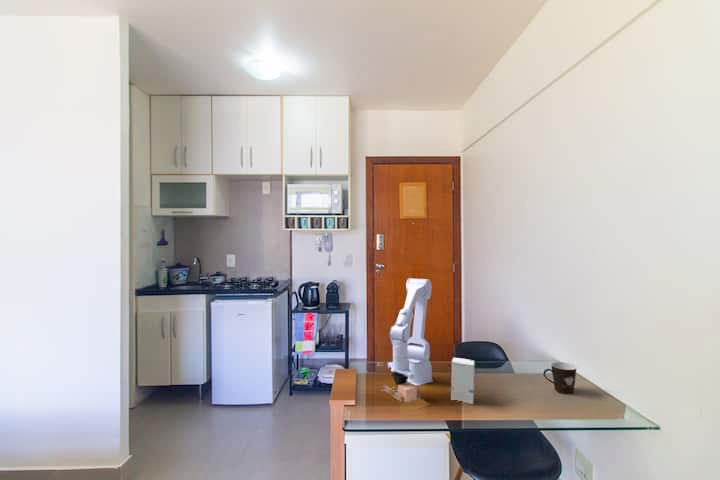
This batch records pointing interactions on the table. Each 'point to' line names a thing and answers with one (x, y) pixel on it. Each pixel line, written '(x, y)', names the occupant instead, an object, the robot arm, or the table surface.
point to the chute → (395, 393)
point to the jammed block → (407, 392)
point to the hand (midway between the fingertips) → (400, 391)
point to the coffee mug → (563, 377)
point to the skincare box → (462, 380)
